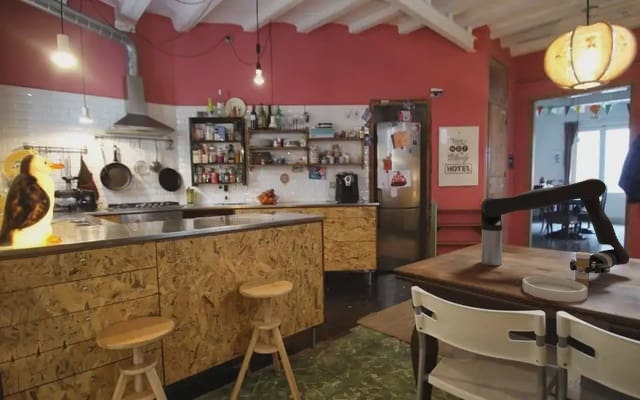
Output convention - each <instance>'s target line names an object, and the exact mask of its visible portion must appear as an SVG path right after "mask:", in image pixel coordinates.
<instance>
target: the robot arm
mask: <svg viewBox="0 0 640 400" xmlns="http://www.w3.org/2000/svg"><path fill="white" fill-rule="evenodd" d="M606 190H607V185H606V183H605V182H604V181H603V180H601V179H599V178H588V179H583V180H581V181H577V182H573V183H570V184H565V185H554V186H549V187H542V188H541V187H540V188H537V189H532V190H529V191H524V192H522V193H519V194H517V195H513V196H507V197H499V198H498V197H494V196H492V197H491V196H490V197H487V198H485V199H483V201H482V202H481V209H480V212H481V213H480V215H481V217H480V218H481V220H480V221H481V222H480V223H481V243H480V244H481V249H480V250H481V254H480V257H481V258H480V259H481V260H480V261H481V264H482V265H487V266H501V265H502V263H503V259H502V258H503V223H502V215H507V214H510V213H514V212H519V211H532V210H537V209H543V208H544V209H545V208H548V207H549V208H550V207H554V206H557V205H560V204H563V203H566V202H569V201H575V200H580V201H581V203H582V205H583V207H584V208H585V211H586V212H587V215H588V217H589V219H590V222H591V225H592V227H593V230H594V233H595V237H596V240H597V243H598V244H600V245H603V246H610V247H611V248H612V249H604V250H600V251H598V253H593V254H590V259H589V267H587V268H586V272H585V273H587V274H588V273H589V274H599V275H600V274H606V273H611V268H613V267H615V266H621V265H622V266H623V265H626V264H628V263H629V261H630V255H629V254H628V251H627V250H626V249H625V248H624V246H623V245H622V244H621V242H620V240H619V239H618V236H617V235H616V230H615V229H614V226H613V223H612V221H611V220H610V219H609V217H608V215H607V214H606V212H605V211H604V208H603V207H602V203H601V200H600V197H601V196H603V195H604V193H605V192H606ZM569 269H570V270H571V271H573V272H575V270H576V259H570V261H569Z"/></svg>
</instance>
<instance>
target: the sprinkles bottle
mask: <svg viewBox="0 0 640 400" xmlns="http://www.w3.org/2000/svg"><path fill="white" fill-rule="evenodd" d="M590 255H591V254H590V253H589V252H584V251H577V252H576V253H575V258H576V259H575V261H576V270H574V272H575V275H574V277H575V280H574V281H576V282H579V283H582V284H584V285H585V286H586V287H587V288H589V287H590V285H589V279H590V273H588V274H587V273H585V272H586V268H587V267H589V259H590Z"/></svg>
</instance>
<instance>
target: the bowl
mask: <svg viewBox="0 0 640 400" xmlns="http://www.w3.org/2000/svg"><path fill="white" fill-rule="evenodd" d="M521 282H522V285H521V286H522V290H523V292H524V293H525V294H528V295H531V296H533V297H535V298H536V297H537V298H540V299H543V300H544V299H545V300H548V301H555V302H565V303H573V302H583V301H584V300H586V299H587V298H588V289H589V287H586V286H585V285H584V284H582V283H579V282H576V281H575V280H573V279H571V278H570V279H569V278H564V277H559V276H551V275H531V276H529V275H528V276H526V277H524V278H522V281H521Z"/></svg>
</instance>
